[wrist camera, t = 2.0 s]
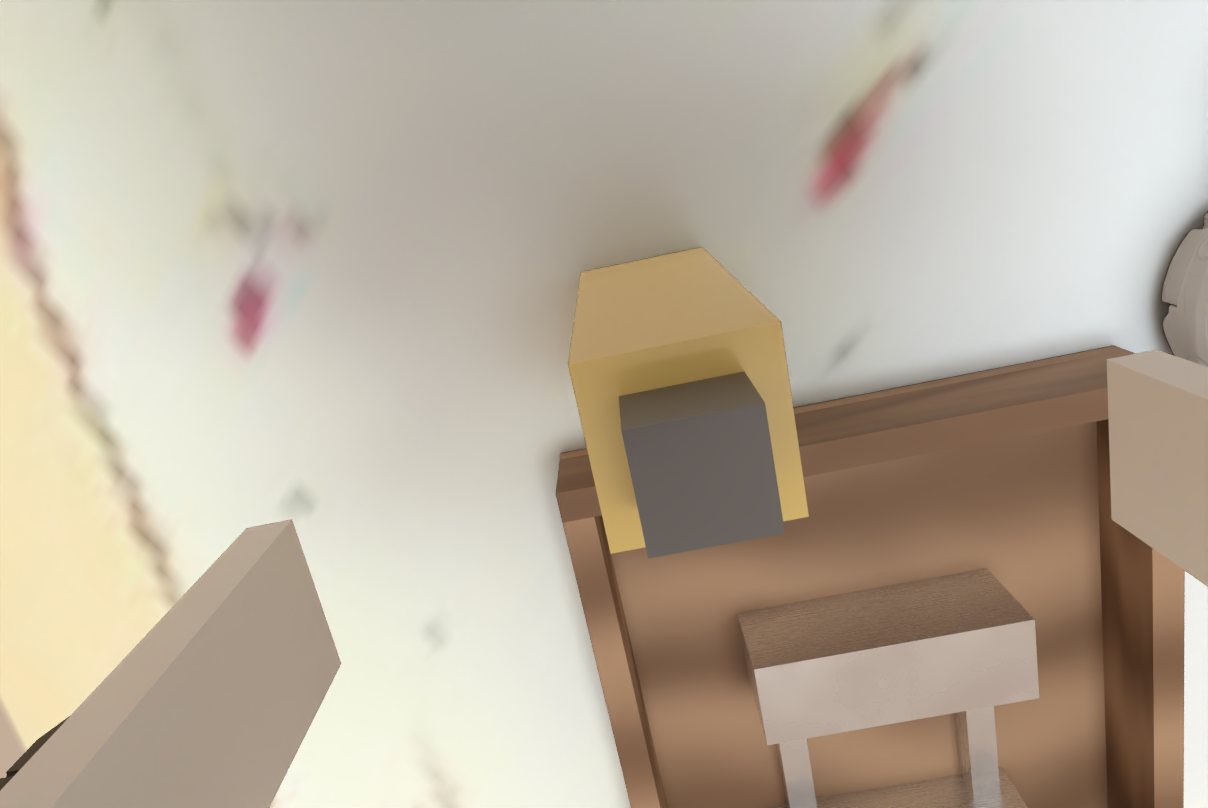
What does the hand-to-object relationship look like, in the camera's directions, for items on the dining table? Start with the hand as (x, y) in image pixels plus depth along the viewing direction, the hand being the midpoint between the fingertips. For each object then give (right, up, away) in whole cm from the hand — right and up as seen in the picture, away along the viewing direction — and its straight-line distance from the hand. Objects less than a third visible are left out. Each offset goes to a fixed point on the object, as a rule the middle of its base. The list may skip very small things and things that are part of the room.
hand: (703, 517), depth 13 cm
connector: (0, +5, +14) cm, 15 cm away
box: (+8, -7, +18) cm, 21 cm away
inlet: (+9, -10, +19) cm, 23 cm away
